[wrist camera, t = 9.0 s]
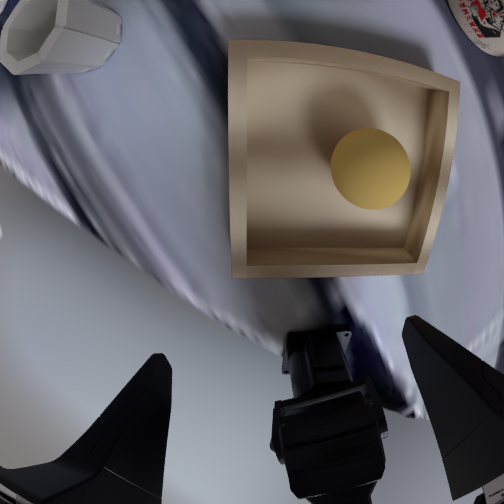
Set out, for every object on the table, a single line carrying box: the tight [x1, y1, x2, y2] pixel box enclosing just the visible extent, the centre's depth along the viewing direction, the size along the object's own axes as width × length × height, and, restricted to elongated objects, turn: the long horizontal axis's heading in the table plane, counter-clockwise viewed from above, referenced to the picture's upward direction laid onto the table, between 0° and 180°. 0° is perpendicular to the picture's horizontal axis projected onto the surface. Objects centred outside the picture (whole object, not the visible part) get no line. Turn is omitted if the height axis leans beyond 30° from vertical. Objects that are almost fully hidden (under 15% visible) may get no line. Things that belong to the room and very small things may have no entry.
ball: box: [331, 128, 411, 210], centre depth 16 cm, size 5×5×5 cm
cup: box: [0, 0, 122, 75], centre depth 10 cm, size 5×5×7 cm
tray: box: [228, 40, 460, 278], centre depth 17 cm, size 15×15×3 cm
